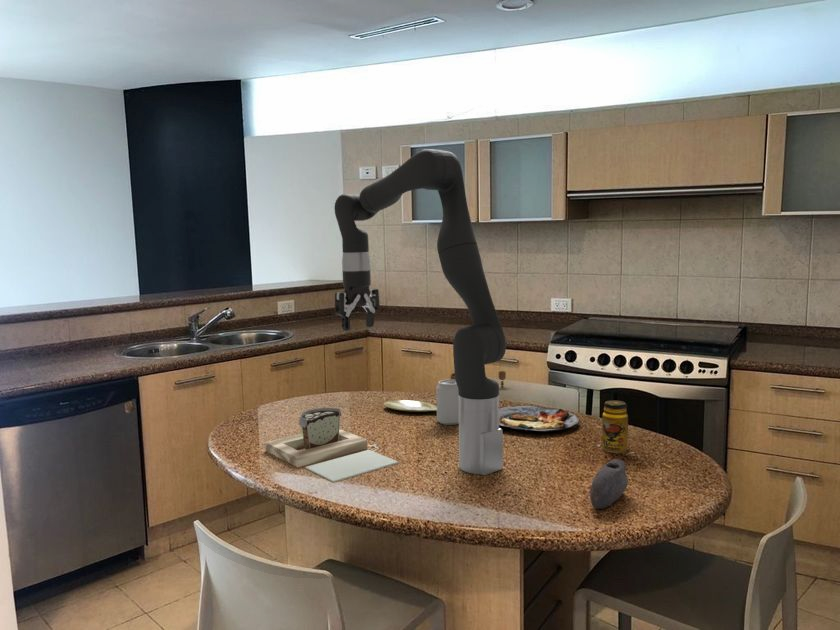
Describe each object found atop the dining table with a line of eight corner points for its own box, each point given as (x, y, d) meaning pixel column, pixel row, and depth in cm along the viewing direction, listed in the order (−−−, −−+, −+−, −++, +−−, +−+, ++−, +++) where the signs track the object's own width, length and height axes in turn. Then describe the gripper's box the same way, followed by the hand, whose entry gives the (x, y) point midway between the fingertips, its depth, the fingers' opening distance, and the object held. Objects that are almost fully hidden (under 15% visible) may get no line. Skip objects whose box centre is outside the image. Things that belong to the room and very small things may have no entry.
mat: (398, 463, 159) (398, 461, 159) (333, 483, 148) (333, 480, 148) (368, 451, 168) (368, 449, 168) (305, 468, 157) (305, 466, 157)
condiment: (604, 455, 163) (605, 406, 161) (594, 443, 171) (595, 397, 169) (634, 454, 163) (635, 405, 161) (623, 443, 171) (623, 396, 170)
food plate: (588, 419, 194) (588, 407, 193) (566, 442, 173) (566, 429, 173) (505, 409, 205) (505, 398, 205) (476, 430, 185) (476, 418, 184)
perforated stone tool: (605, 518, 128) (606, 482, 127) (579, 511, 131) (579, 477, 130) (632, 492, 140) (633, 460, 139) (608, 487, 143) (608, 455, 142)
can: (467, 420, 193) (467, 379, 192) (455, 427, 187) (454, 385, 186) (445, 417, 197) (444, 377, 196) (432, 423, 191) (431, 382, 190)
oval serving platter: (497, 415, 199) (497, 408, 199) (483, 425, 189) (483, 417, 189) (394, 403, 215) (394, 396, 215) (376, 411, 206) (376, 404, 205)
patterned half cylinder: (326, 441, 177) (325, 404, 176) (342, 446, 173) (341, 408, 172) (289, 454, 167) (287, 415, 166) (306, 459, 164) (304, 419, 162)
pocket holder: (367, 448, 170) (367, 439, 170) (297, 467, 158) (297, 457, 157) (333, 434, 183) (332, 426, 182) (265, 451, 170) (265, 442, 170)
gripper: (345, 271, 174) (347, 333, 176) (384, 267, 184) (386, 326, 186) (326, 270, 179) (329, 330, 181) (366, 267, 190) (368, 324, 192)
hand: (358, 328), depth 184 cm, fingers open, 8 cm apart
